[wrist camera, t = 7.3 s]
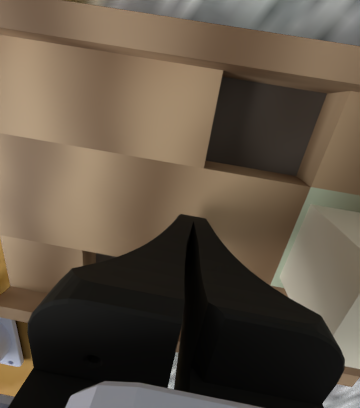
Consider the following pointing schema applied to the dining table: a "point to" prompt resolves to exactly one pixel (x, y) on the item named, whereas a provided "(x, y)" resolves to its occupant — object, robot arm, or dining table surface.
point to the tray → (164, 139)
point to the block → (329, 274)
